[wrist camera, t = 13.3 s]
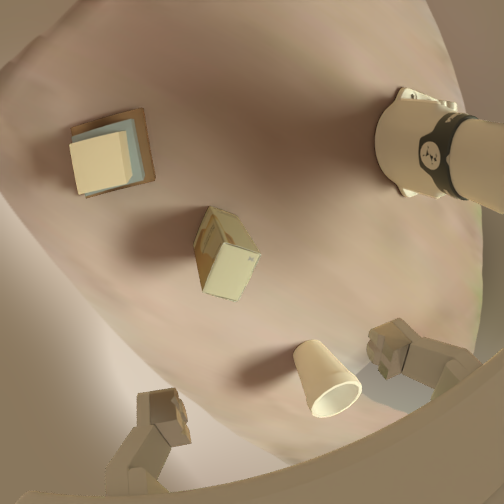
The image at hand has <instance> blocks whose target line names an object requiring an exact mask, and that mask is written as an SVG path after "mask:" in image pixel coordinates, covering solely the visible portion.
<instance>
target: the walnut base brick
mask: <svg viewBox="0 0 504 504" xmlns="http://www.w3.org/2000/svg"><path fill="white" fill-rule="evenodd" d="M128 119H134V122H135V127H136V133H137V138H138V143H139V148H140V153H141V158H142V163H143V168H144V172H145V177H144V180H143V181H139V182H135V183H131V184H127V185H123V186H120V187H116V188H113V189H109V190H105V191H102V192H99V193H95V194H92V195H88V196H85V197H86V198H90V197H93V196H97V195H100V194H104V193H108V192H111V191H115V190H119V189H123V188H127V187H131V186H135V185H139V184H143V183H147V182H152V181H155V178H156V176H155V171H154V166H153V160H152V155H151V150H150V144H149V138H148V133H147V127H146V121H145V114H144V109H143V108H138V109H134V110H130V111H126V112H122V113H118V114H115V115H111V116H108V117H104V118H101V119H97V120H94V121H91V122H87V123H84V124H81V125H78V126H75V127H72V128H71V133H72V136H75V135H78V134H81V133H84V132H87V131H90V130H93V129H97V128H100V127H103V126H106V125H110V124H113V123H117V122H120V121H124V120H128Z"/></svg>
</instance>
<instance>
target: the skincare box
mask: <svg viewBox="0 0 504 504" xmlns="http://www.w3.org/2000/svg"><path fill="white" fill-rule="evenodd" d="M193 247H194V252H195V257H196V263H197V268H198V272H199V278H200V283H201V287H202V292H203V293H205V294H209V295H212V296H215V297H219V298H222V299H226V300H230V301H233V302H238V301H239V299H240V297H241V295H242V293H243V291H244V289H245V287H246V285H247V283H248V282H249V280H250V277H251V275H252V273H253V271H254V269H255V267H256V265H257V263H258V261H259V258H260V257H261V253H260V251H259V250H258V248H257V247H256V245H255V244H254V242H253V240H252V239H251V237H250V236H249V234H248V232H247V231H246V229H245V228H244V226H243V224H242V223H241V221H240V220H239V218H238V217H237V216H236V215H234V214H231V213H229V212H226V211H224V210H221V209H218V208H215V207H212V206H209V207H208V209H207V212H206V214H205V216H204V218H203V220H202V223H201V225H200V228H199V230H198V233H197V236H196V238H195V241H194V244H193Z"/></svg>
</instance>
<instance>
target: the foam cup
mask: <svg viewBox="0 0 504 504" xmlns="http://www.w3.org/2000/svg"><path fill="white" fill-rule="evenodd" d="M293 359H294V362H295V365H296V368H297V371H298V374H299V377H300V380H301V383H302V386H303V389H304V392H305V395H306V401H307V405H308V407H309V409H310V411H311V413H312V415H314V416H316V417H318V418H323V417H330V416H333V415H336V414H338V413H340V412H342V411H344V410H345V409H347V408H348V407H350V406H351V405H352V404H353V403H354V402H355V401H356V400H357V399H358V397H359V395H360V393H361V392H362V385H361V383H360V382H359V381H358V379H357V378H356V376H355V375H353V374H352V373H351V372H349V371H348V370H347V369H346V368H345V366H344V365H343V364H342V363H341V362H340V361H339V360H338V359H337V358H336V357H335V356H334V355H333V354H332V353H331V352H330V351H329V350H328V349H327V348H326V347H325V346H324V345H323V344H322V343H321V342H320V341H319V340H313V339H312V340H309V341H305V342H304V343H302V344H300V345H299V346H298V347H297V348H296V349H295V351H294V354H293Z"/></svg>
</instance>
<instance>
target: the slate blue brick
mask: <svg viewBox="0 0 504 504" xmlns="http://www.w3.org/2000/svg"><path fill="white" fill-rule="evenodd" d="M120 131H126V134H127V141H128V149H129V155H130V162H131V168H132V177H131V178H130V180H129V181H128V183H127V184H131V183H135V182H139V181H143V180H144V177H145V172H144V168H143V163H142V158H141V153H140V148H139V143H138V138H137V133H136V127H135V122H134V119H128V120H124V121H120V122H117V123H113V124H110V125H106V126H103V127H100V128H97V129H93V130H90V131H87V132H84V133H81V134H78V135H75V136H72V142H73V143H75V142H79V141H83V140H86V139H90V138H94V137H98V136H102V135H107V134H111V133H115V132H120ZM127 184H124V185H127ZM120 186H123V185H119V186H115V187H110V188H106V189H101V190H97V191H92V192H88V193H85V196H88V195H92V194H95V193H99V192H102V191H105V190H109V189H113V188H116V187H120Z"/></svg>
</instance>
